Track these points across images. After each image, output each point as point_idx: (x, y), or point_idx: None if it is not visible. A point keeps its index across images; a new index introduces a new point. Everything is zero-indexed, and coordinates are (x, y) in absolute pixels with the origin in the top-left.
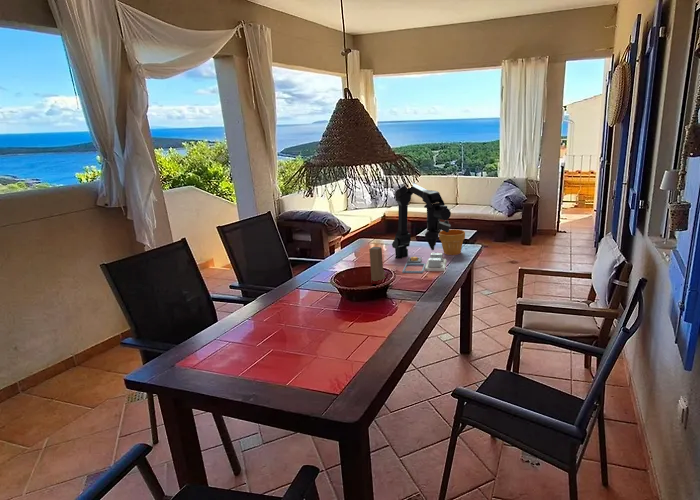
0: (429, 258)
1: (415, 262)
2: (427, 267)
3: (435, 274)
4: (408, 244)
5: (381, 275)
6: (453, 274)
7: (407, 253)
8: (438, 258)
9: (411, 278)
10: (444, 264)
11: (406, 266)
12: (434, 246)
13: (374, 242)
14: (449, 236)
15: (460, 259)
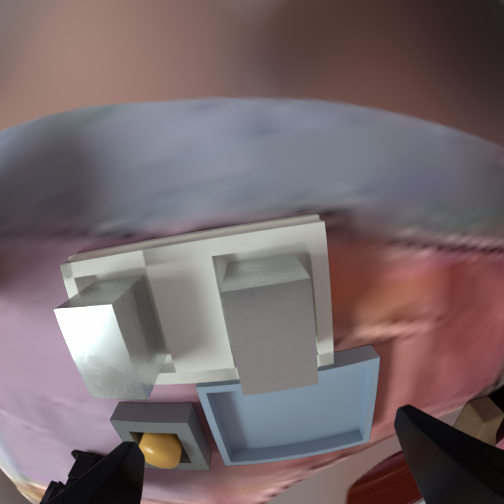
0: (262, 390)
1: (197, 436)
2: None
3: (357, 272)
4: (59, 490)
5: (495, 438)
6: (338, 143)
7: (88, 467)
8: (247, 314)
9: (420, 373)
10: (204, 245)
11: (262, 453)
12: (432, 433)
13: (34, 495)
14: None
15: (11, 184)
